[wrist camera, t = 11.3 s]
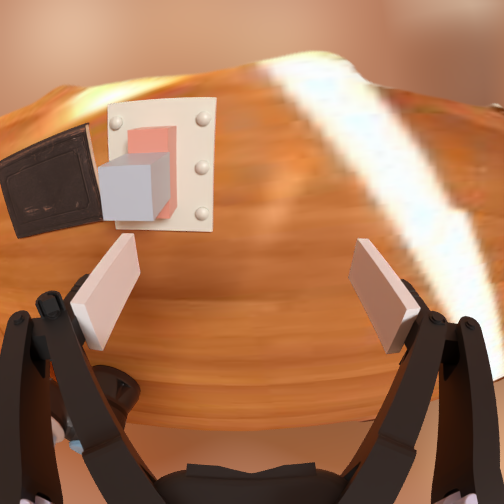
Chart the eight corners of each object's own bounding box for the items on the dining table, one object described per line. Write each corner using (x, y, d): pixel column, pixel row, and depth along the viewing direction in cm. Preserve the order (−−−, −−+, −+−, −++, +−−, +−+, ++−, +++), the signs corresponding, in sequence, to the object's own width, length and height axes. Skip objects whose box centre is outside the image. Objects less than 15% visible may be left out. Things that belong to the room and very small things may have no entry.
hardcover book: (111, 214, 43) (106, 220, 41) (23, 233, 44) (17, 238, 42) (90, 122, 36) (83, 123, 34) (2, 160, 36) (-5, 163, 34)
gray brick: (128, 197, 35) (103, 220, 28) (125, 153, 33) (97, 167, 25) (170, 197, 36) (153, 221, 29) (169, 152, 33) (150, 164, 26)
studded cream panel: (118, 226, 44) (103, 243, 38) (111, 104, 34) (91, 105, 29) (213, 228, 45) (209, 246, 39) (216, 97, 35) (212, 95, 30)
